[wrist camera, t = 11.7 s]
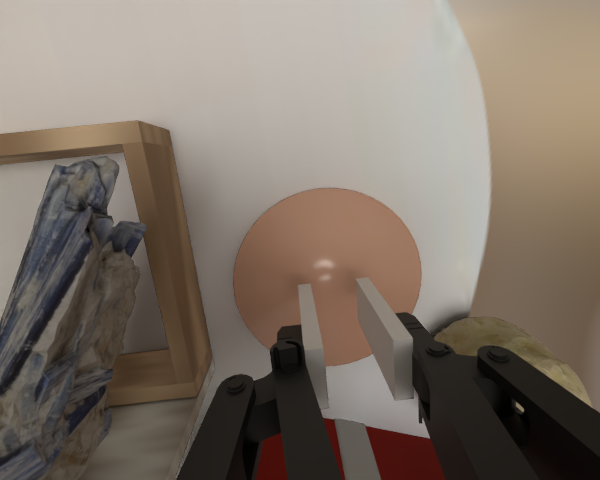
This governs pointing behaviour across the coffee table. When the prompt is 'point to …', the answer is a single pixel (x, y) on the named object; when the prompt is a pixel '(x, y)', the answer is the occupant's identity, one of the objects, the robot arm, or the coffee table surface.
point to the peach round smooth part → (325, 267)
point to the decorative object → (510, 348)
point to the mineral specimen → (65, 326)
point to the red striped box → (363, 454)
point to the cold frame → (170, 293)
